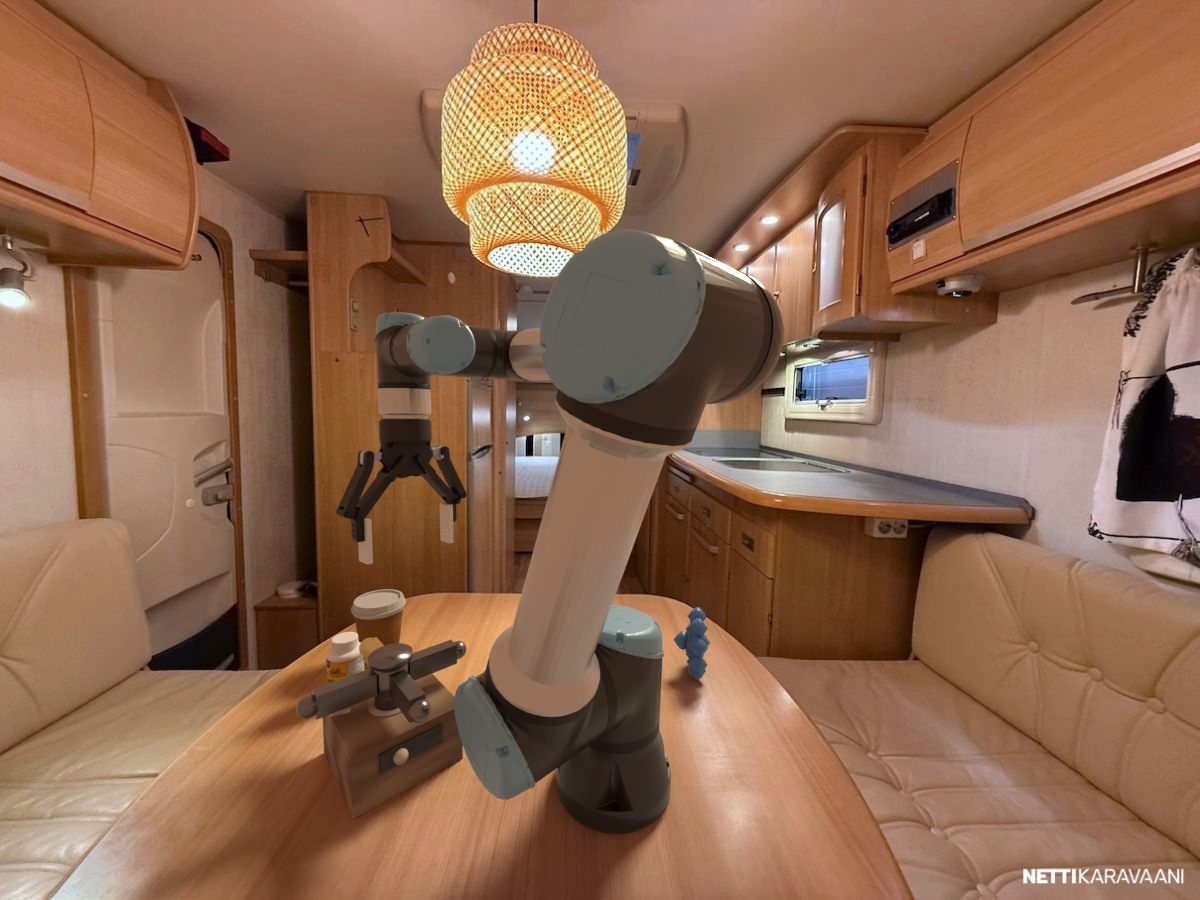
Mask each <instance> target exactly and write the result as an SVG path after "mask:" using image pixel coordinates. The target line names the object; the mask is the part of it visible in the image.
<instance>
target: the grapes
mask: <svg viewBox="0 0 1200 900" xmlns="http://www.w3.org/2000/svg"><path fill="white" fill-rule="evenodd" d="M687 618H688V620H689V624H688V625H687V626H686V628H685V630H686V631H684V630H681V631H679V632H678V633H677V634H676V636H675V637H674V639H673V641H674V643H675V644H676V646H677V647H678V649H679V650H680V649H681V650H682V651H685V655H686V656H687V657H688V659H687V660H686V663H687V665H688V667H687V671H688V673H689V674H690V675H691V677H692V678H693V679H694V680H696V681H699V680H700V679H701V678H703V676H704V675H705V674H706V672H707V670H706V668H707V666H708V663H707V662H706V660H705V659H704V656H705V653H706V652H707V650H708V649H709V646H710V644H711V642H710V640H709V639H708V637H707V636H706V634H705V633H706V632H707V630H709V627H707V625H706V623H705V622H704V621H705V620H706V619H707V616H706V613H705V612H704V611H703V609H702V608H701V607H698V606H696V607H695V608H693V609H691V611H690V612H689V613H688V615H687Z"/></svg>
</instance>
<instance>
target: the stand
mask: <svg viewBox="0 0 1200 900" xmlns="http://www.w3.org/2000/svg"><path fill="white" fill-rule="evenodd" d="M415 682H416V683H417V684H418V685H419V687H420V688H421V689H422V690H423V691H424V692H425V693H426V700H427V701H428V702H429V703H430V705H431V712H430V715H429V717H428V718H427V719H426V720H425V721H423V722H421V723H414V722H412V723H409V722H408V720H407V719H406V718H405V716H404V715H403V714H402V712H401V711H400V709H399V708H397V709H394V710H390V711H381V710H378V709H376V708H375V706H374V697H372V698H370V699H367V700H365V701H362V702H360V703H357V704H355V705H352V706H350V707H347V708H345V709H343V710H340V711H338V712H335V713H333V714H330V715H328V716H325V717H323V718H322V731H323V732H322V733H323V734H322V737H323V738H322V739H323V753H324V756H325V758H326V760H327V763H328V765H329V767H330V770H331V772H332V774H333V776H334V778H335V781H336V783H337V786H338V788H339V790H340V792H341V795H342V797H343V798H344V801H345V803H346V805H347V808H348V810H349V812H350V815H351V817H352V819H353V820H355V819H357V818H358V817H360V816H362V815H364V814H366V813H368V812H369V811H371V810H373V809H374V808H376V807H378V806H380V805H382V804H384V803H386V802H387V801H389V800H391V799H392V798H394V797H396V796H398V795H399V794H401V793H403V792H405V791H407V790H409V789H411V788H412V787H414V786H416V785H418V784H419V783H421V782H423V781H425V780H427V779H428V778H431V776H434V775H436V774H438V773H439V772H441V771H443V770H445V769H446V768H448V767H449V766H450V767H451V765H453V764H455V763H457V762H459V761H460V760H462V759H464V758H463V757H464V754H463V751H464V748H463V745H462V742H461V739H460V735H459V732H458V728H457V723H456V718H455V711H454V697H455V695H453V694H452V692H450V690H449V689H448V688H447V687H446V686H445V685H444V684H443V683H442V682H441V681H440V680H439V679H438V678H437V676H436V675H434V673H432V674H430V675H427V676H425V677H422V678H420V679H417V680H415Z"/></svg>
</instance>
